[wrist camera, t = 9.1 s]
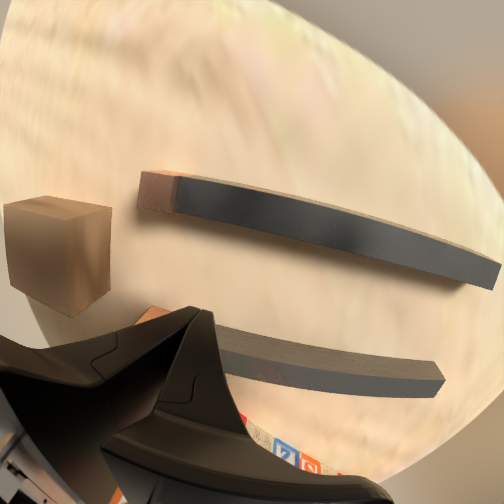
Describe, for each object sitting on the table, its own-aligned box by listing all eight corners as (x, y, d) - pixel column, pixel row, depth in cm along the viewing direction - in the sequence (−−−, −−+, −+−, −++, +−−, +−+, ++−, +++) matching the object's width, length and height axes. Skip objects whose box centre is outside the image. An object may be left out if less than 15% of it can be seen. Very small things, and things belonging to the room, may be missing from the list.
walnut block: (111, 288, 15) (72, 318, 11) (49, 265, 15) (10, 285, 12) (113, 207, 14) (65, 220, 10) (48, 195, 14) (3, 204, 10)
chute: (423, 378, 14) (436, 402, 12) (151, 326, 15) (132, 350, 13) (482, 253, 11) (507, 267, 9) (166, 170, 12) (141, 171, 10)
